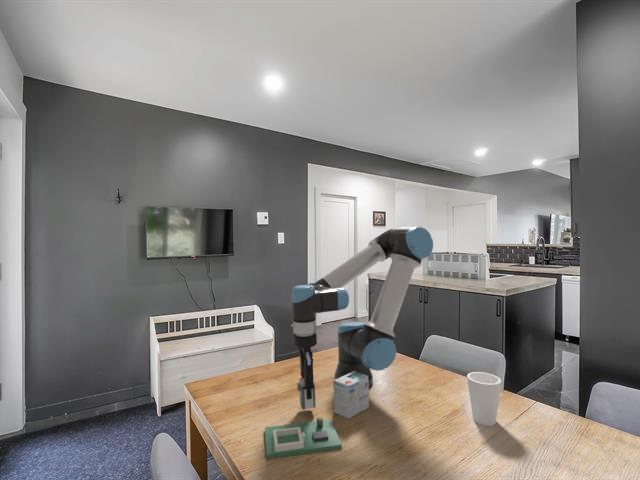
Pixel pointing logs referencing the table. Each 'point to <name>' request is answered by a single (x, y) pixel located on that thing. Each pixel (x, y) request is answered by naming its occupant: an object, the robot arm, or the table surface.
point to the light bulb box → (351, 394)
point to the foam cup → (484, 396)
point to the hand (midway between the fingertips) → (307, 403)
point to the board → (301, 438)
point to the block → (300, 389)
